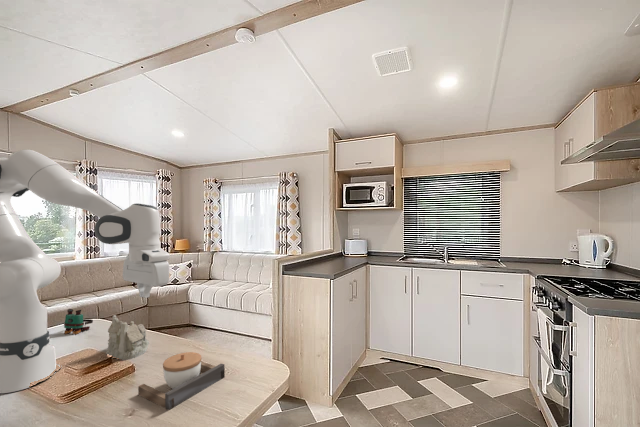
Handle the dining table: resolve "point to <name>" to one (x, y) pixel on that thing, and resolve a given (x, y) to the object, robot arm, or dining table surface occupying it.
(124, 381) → the dining table surface
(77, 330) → the binoculars
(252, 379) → the dining table surface
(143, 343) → the ceramic cottage
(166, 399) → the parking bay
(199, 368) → the lidded jar
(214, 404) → the dining table surface
